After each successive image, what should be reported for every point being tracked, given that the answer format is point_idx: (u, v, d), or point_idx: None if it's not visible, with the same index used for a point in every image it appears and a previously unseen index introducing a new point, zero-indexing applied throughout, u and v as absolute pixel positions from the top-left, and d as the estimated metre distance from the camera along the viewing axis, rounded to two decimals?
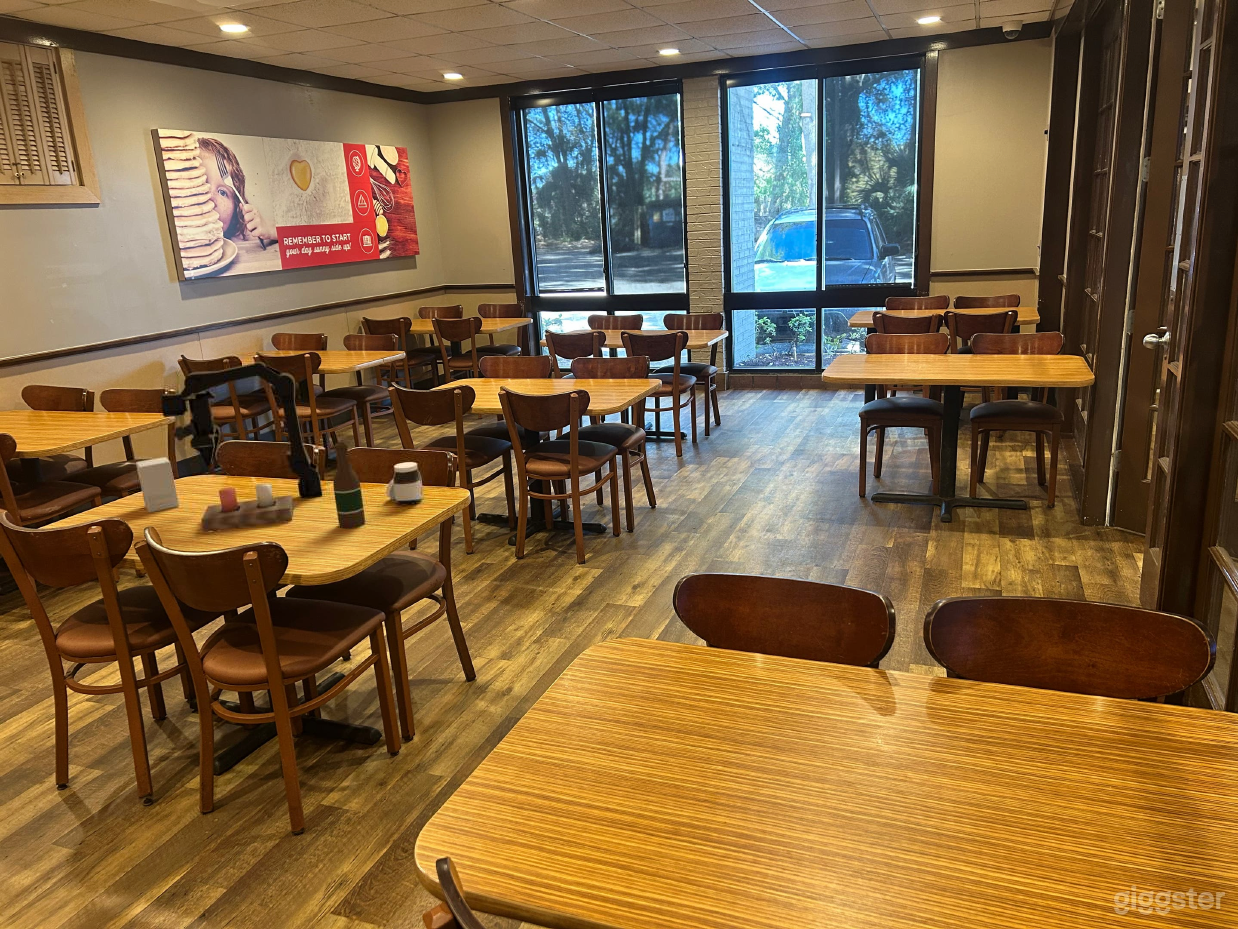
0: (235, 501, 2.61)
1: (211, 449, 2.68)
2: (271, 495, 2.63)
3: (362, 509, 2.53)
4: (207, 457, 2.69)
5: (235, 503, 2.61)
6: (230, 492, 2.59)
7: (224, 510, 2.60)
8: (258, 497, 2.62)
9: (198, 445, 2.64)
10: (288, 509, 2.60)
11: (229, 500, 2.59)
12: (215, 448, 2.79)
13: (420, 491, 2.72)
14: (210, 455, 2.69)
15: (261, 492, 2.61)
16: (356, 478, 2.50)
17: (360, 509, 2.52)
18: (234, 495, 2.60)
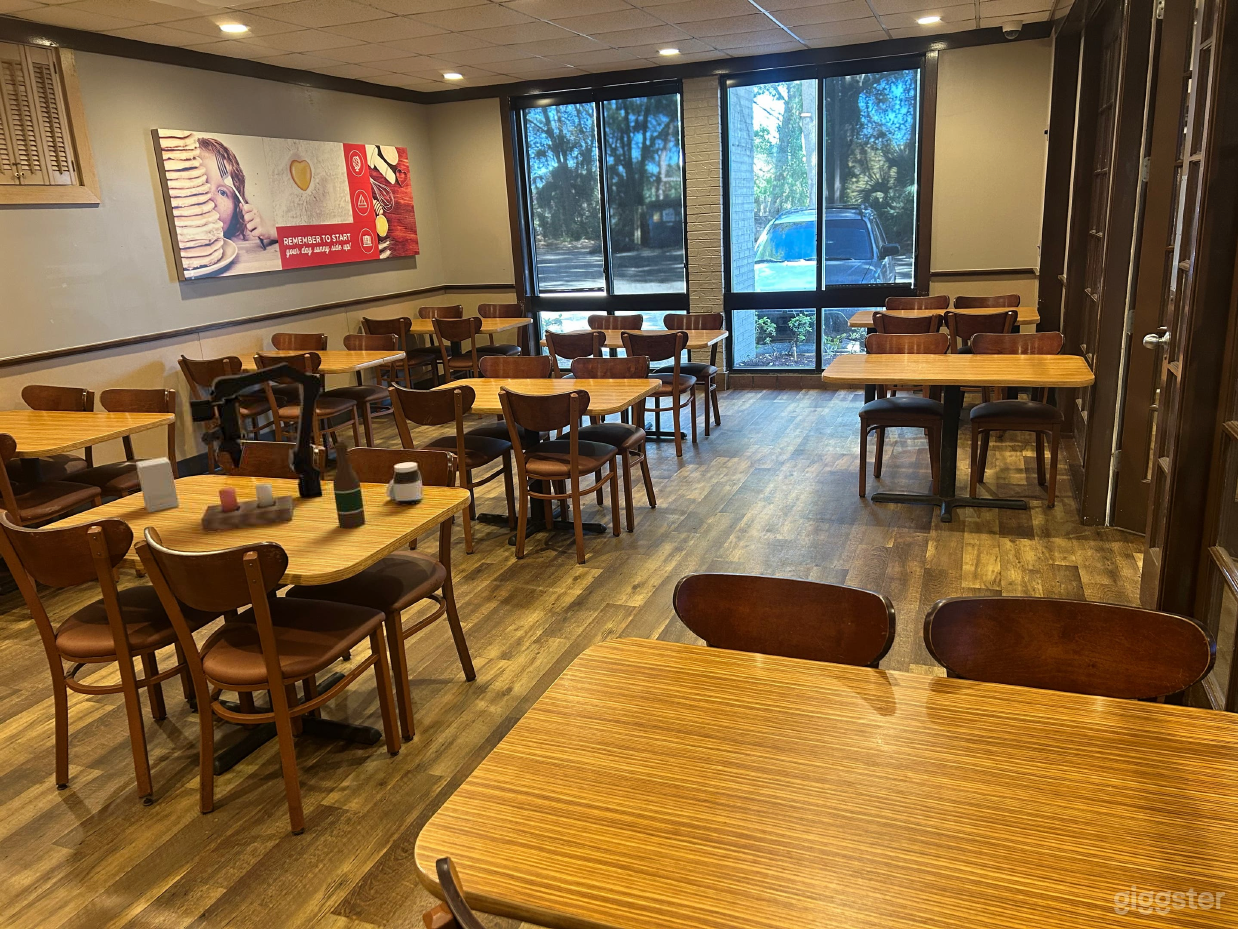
0: (235, 501, 2.61)
1: (240, 451, 2.70)
2: (271, 495, 2.63)
3: (362, 509, 2.53)
4: (236, 459, 2.71)
5: (235, 503, 2.61)
6: (230, 492, 2.59)
7: (224, 510, 2.60)
8: (258, 497, 2.62)
9: (226, 450, 2.62)
10: (288, 509, 2.60)
11: (229, 500, 2.59)
12: (240, 456, 2.73)
13: (420, 491, 2.72)
14: (239, 457, 2.71)
15: (261, 492, 2.61)
16: (356, 478, 2.50)
17: (360, 509, 2.52)
18: (234, 495, 2.60)
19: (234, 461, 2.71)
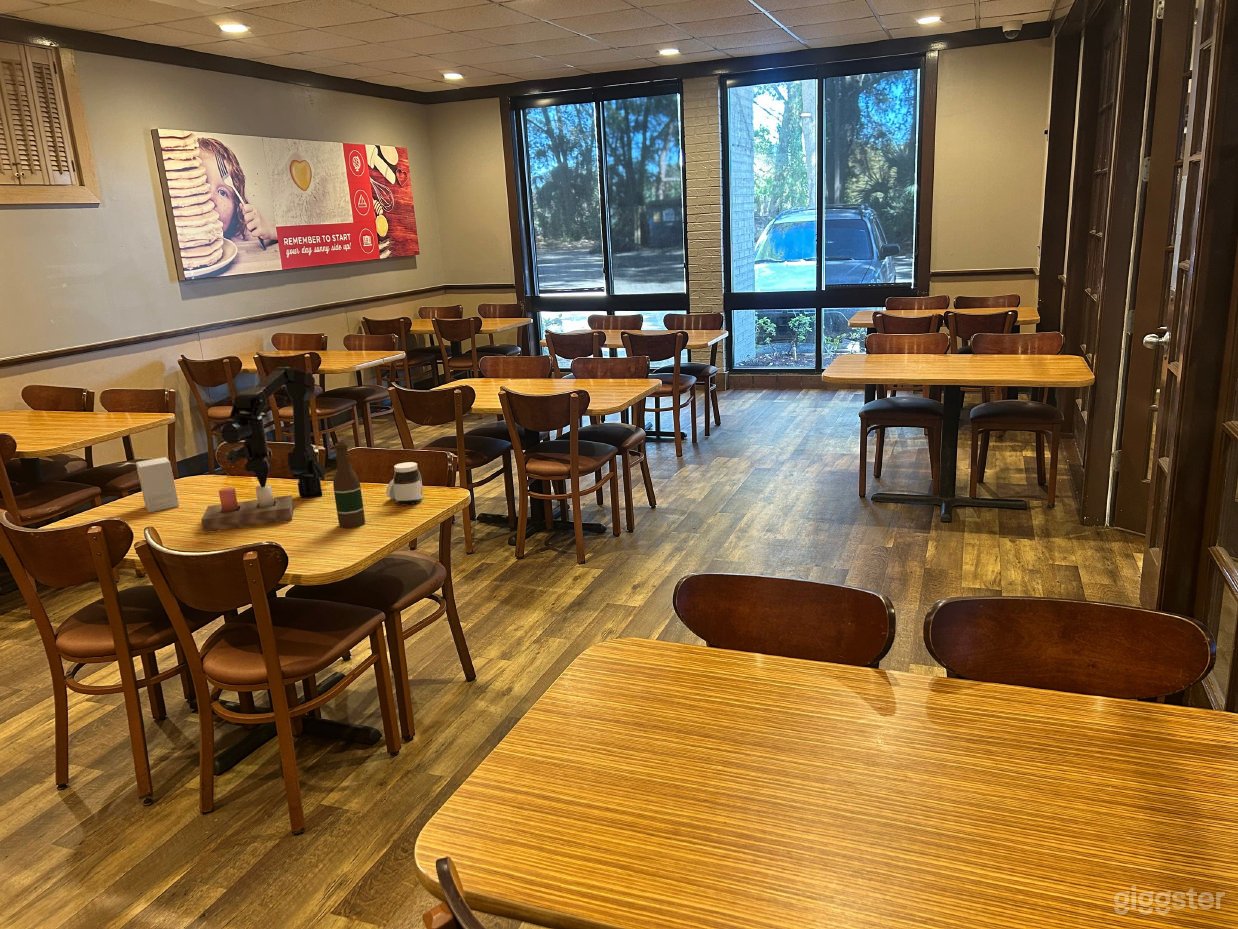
0: (235, 501, 2.61)
1: (266, 469, 2.60)
2: (271, 496, 2.64)
3: (362, 509, 2.53)
4: (262, 477, 2.61)
5: (235, 503, 2.61)
6: (230, 492, 2.59)
7: (224, 510, 2.60)
8: (258, 498, 2.62)
9: (253, 469, 2.52)
10: (288, 509, 2.60)
11: (229, 500, 2.59)
12: None
13: (420, 491, 2.72)
14: (265, 475, 2.61)
15: (261, 493, 2.61)
16: (356, 478, 2.50)
17: (360, 509, 2.52)
18: (234, 495, 2.60)
19: (260, 480, 2.61)
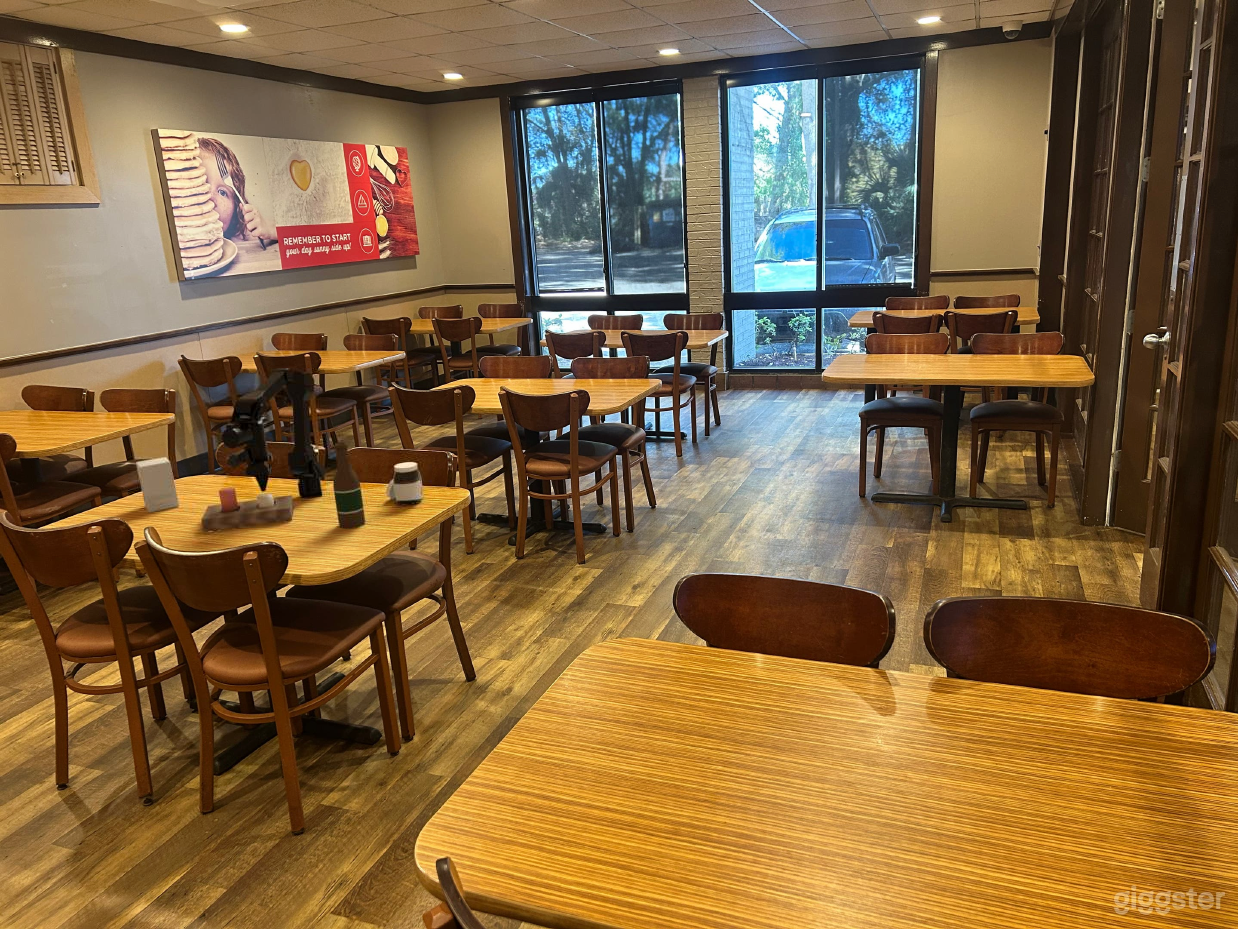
0: (235, 501, 2.61)
1: (267, 474, 2.60)
2: (273, 505, 2.64)
3: (362, 509, 2.53)
4: (262, 482, 2.61)
5: (235, 503, 2.61)
6: (230, 492, 2.59)
7: (224, 510, 2.60)
8: (260, 507, 2.63)
9: (253, 474, 2.52)
10: (288, 509, 2.60)
11: (229, 500, 2.59)
12: None
13: (420, 491, 2.72)
14: (265, 480, 2.61)
15: (263, 502, 2.62)
16: (356, 478, 2.50)
17: (360, 509, 2.52)
18: (234, 495, 2.60)
19: (260, 484, 2.62)
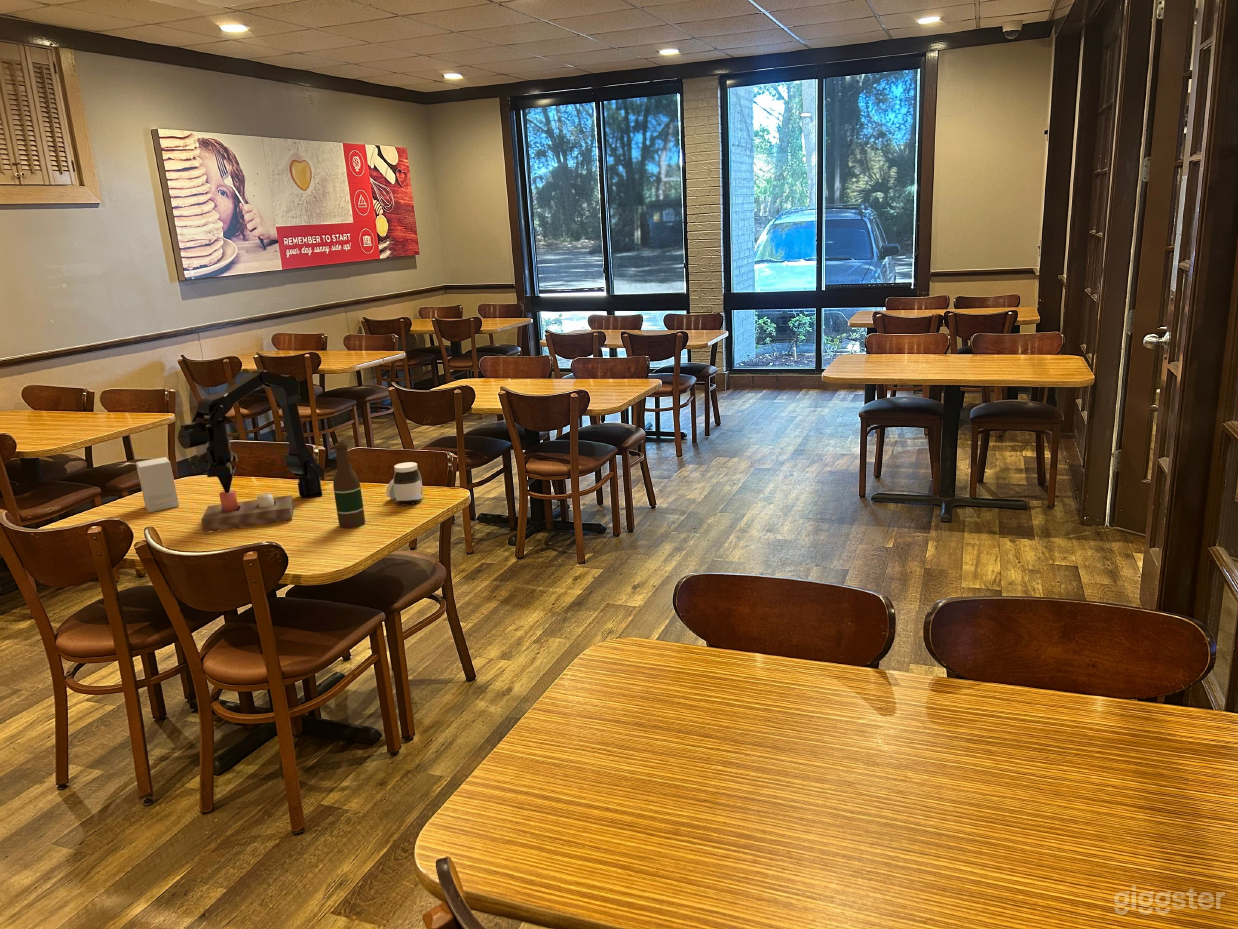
0: (235, 503, 2.61)
1: (230, 475, 2.58)
2: (273, 505, 2.64)
3: (362, 509, 2.53)
4: (226, 483, 2.59)
5: (235, 505, 2.61)
6: (230, 494, 2.59)
7: (224, 512, 2.60)
8: (260, 507, 2.63)
9: (215, 475, 2.50)
10: (288, 509, 2.60)
11: (229, 503, 2.59)
12: None
13: (420, 491, 2.72)
14: (229, 481, 2.59)
15: (263, 502, 2.62)
16: (356, 478, 2.50)
17: (360, 509, 2.52)
18: (234, 497, 2.60)
19: (224, 485, 2.59)
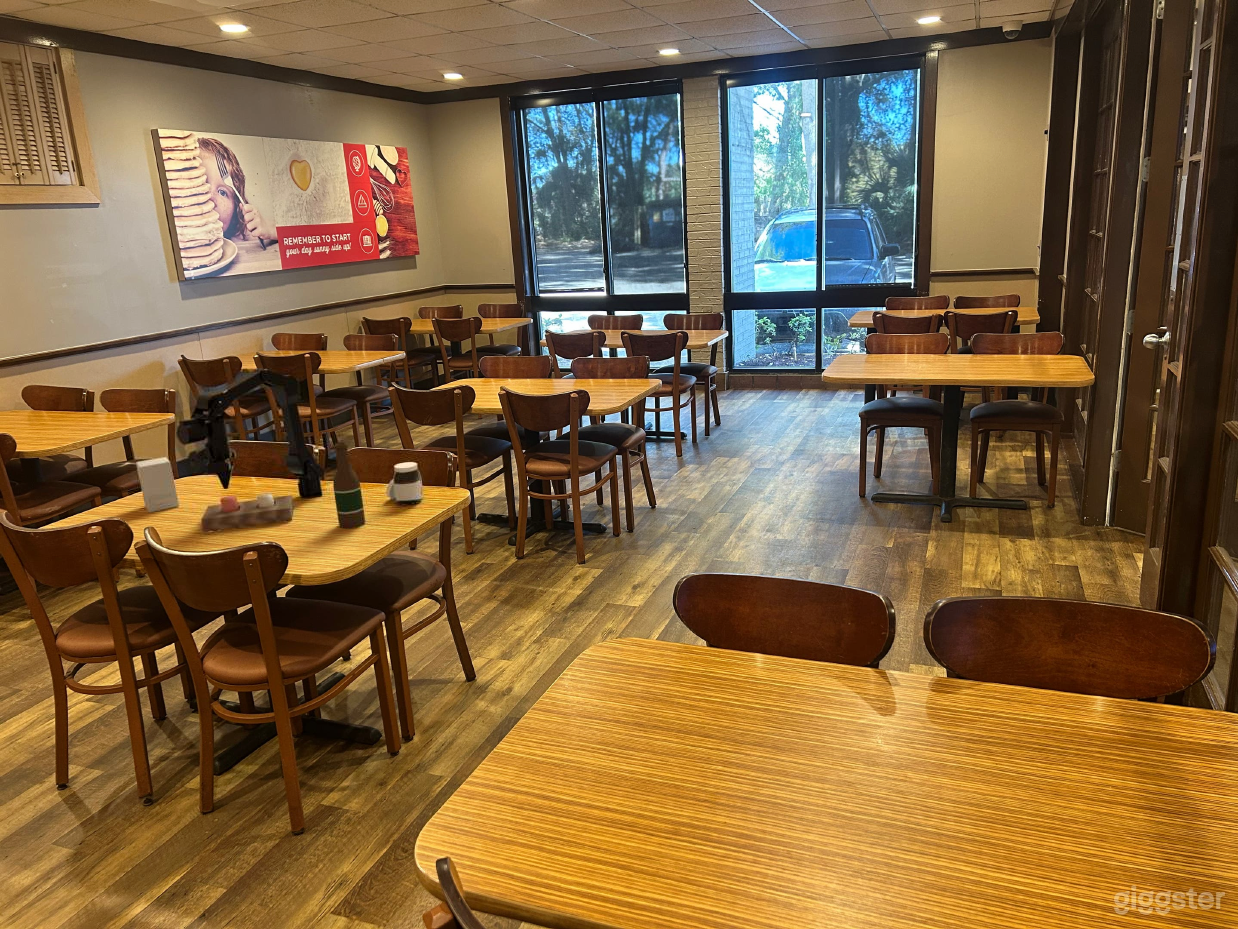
0: (236, 509, 2.61)
1: (229, 471, 2.57)
2: (273, 505, 2.64)
3: (362, 509, 2.53)
4: (224, 479, 2.58)
5: None
6: (231, 500, 2.60)
7: None
8: (260, 507, 2.63)
9: (214, 471, 2.49)
10: (288, 509, 2.60)
11: (230, 508, 2.60)
12: None
13: (420, 491, 2.72)
14: (228, 477, 2.58)
15: (263, 502, 2.62)
16: (356, 478, 2.50)
17: (360, 509, 2.52)
18: (235, 503, 2.61)
19: (222, 482, 2.58)
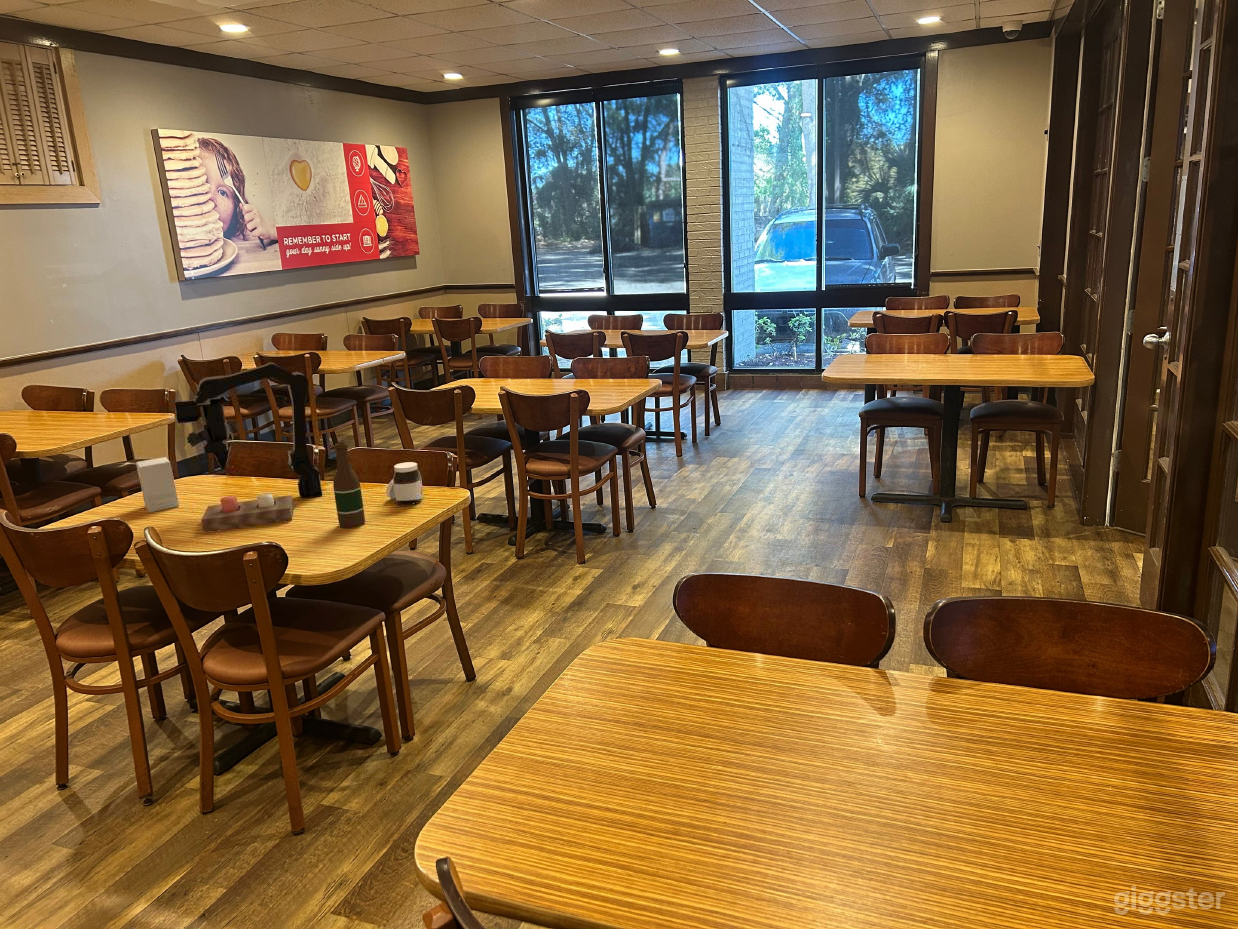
0: (236, 509, 2.61)
1: (226, 452, 2.70)
2: (273, 505, 2.64)
3: (362, 509, 2.53)
4: (222, 460, 2.71)
5: None
6: (231, 500, 2.60)
7: None
8: (260, 507, 2.63)
9: (212, 451, 2.62)
10: (288, 509, 2.60)
11: (230, 508, 2.60)
12: None
13: (420, 491, 2.72)
14: (225, 458, 2.71)
15: (263, 502, 2.62)
16: (356, 478, 2.50)
17: (360, 509, 2.52)
18: (235, 503, 2.61)
19: (220, 462, 2.71)
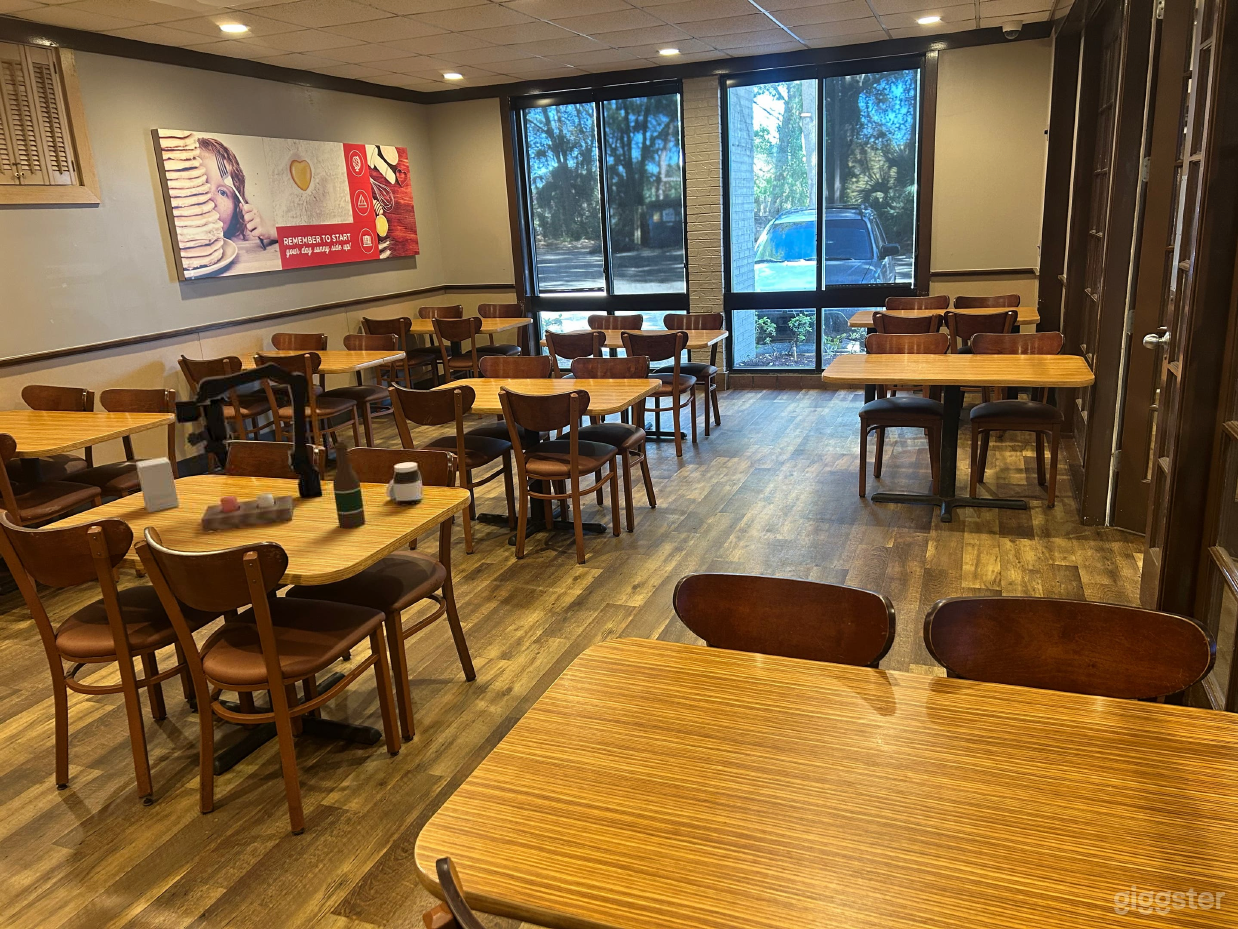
0: (236, 509, 2.61)
1: (226, 452, 2.70)
2: (273, 505, 2.64)
3: (362, 509, 2.53)
4: (222, 460, 2.71)
5: None
6: (231, 500, 2.60)
7: None
8: (260, 507, 2.63)
9: (212, 451, 2.62)
10: (288, 509, 2.60)
11: (230, 508, 2.60)
12: None
13: (420, 491, 2.72)
14: (225, 458, 2.71)
15: (263, 502, 2.62)
16: (356, 478, 2.50)
17: (360, 509, 2.52)
18: (235, 503, 2.61)
19: (220, 462, 2.71)
